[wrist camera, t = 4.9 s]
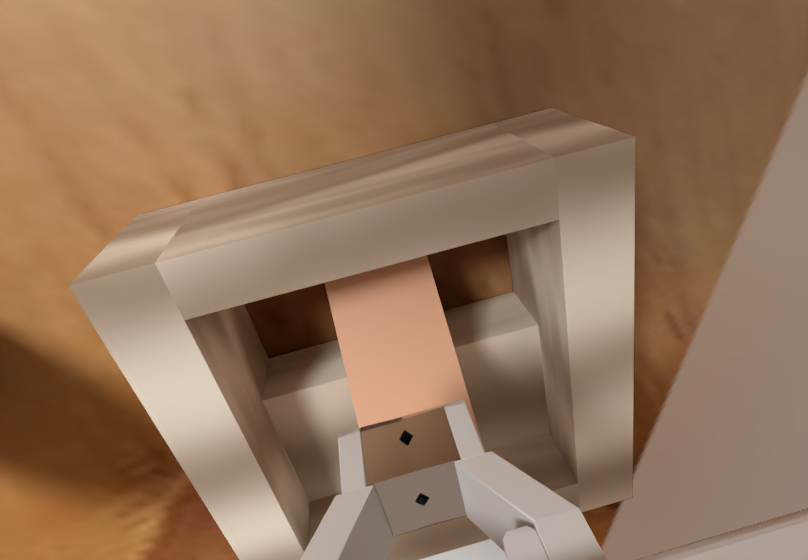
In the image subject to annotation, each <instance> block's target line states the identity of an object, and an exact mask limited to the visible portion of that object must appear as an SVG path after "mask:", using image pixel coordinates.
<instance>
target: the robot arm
mask: <svg viewBox="0 0 808 560" xmlns="http://www.w3.org/2000/svg"><path fill="white" fill-rule="evenodd" d="M338 446H339V461H340V475H341V490H342V494H339V495H336V496H335V497H334V499H333V501H332V503H331V505H330V506H329V508H328V510H327V512H326V514H325V515H324V517H323V519H322V521H321V523H320V524H319V526H318V528H317V530H316V532H315V534H314V535H313V537H312V539H311V541H310V543H309V544H308V546H307V548H306V550H305V552H304V553H303V555H302V557H301V559H300V560H387V558H388V555H389V552H390V549H391V546H392V543H393V540H394V538H393V536H396V535H399V534H402V533H405V532H409V531H412V530H415V529H418V528H421V527H424V526H427V525H430V524H434V523H438V522H442V521H446V520H450V519H453V518H457V517H461V516H465V515H467V517H468V518H469V519H470V520H471V521H472V522H473V523H474V524H475V525H476V526H477V527H478V528H479V529H481V530H482V531H483V532H484V533H485V534H486V535H487V536H488V537H489V538H490V539H491V540H492V541H493V542H494V543H495V544H497V545H498V546H499V547H500V548H501V549H502V550H503V551H504V552H505V555H506V560H607V559H606V557H605V556H604V554H603V552H602V550H601V548H600V546H599V544H598V542H597V541H596V539H595V537H594V535H593V533H592V531H591V529H590V527H589V526H588V524H587V522H586V520H585V518H584V516H583V514H582V513H581V511H580V509H579V508H578V507H576V506H575V505H573V504H572V503H570V502H568V501H567V500H565V499H564V498H562V497H561V496H559V495H558V494H556V493H555V492H553V491H552V490H550V489H549V488H547V487H546V486H544V485H543V484H541V483H540V482H538V481H537V480H535V479H534V478H532V477H531V476H529V475H528V474H526V473H525V472H523V471H521V470H520V469H518V468H517V467H515V466H514V465H512V464H511V463H509V462H508V461H506V460H505V459H503V458H502V457H500V456H499V455H497V454H496V453H494V452H493V451H490V452H485V450H484V447H483V445H482V442H481V440H480V437H479V435H478V432H477V430H476V427H475V425H474V422H473V420H472V417H471V415H470V412H469V410H468V407H467V405H466V402H465V401H464V400H463V399H460V400H457V401H453V402H450V403H446V404H443V406H442V405H439V406H436V407H432V408H429V409H426V410H422V411H419V412H415V413H412V414H409V415H405V416H402V417H399V418H396V419H392V420H388V421H384V422H380V423H376V424H372V425H368V426H364V427H361V428H358V429H354V430H350V431H346V432H342V433H339V437H338ZM429 523H430V524H429ZM637 560H808V508H807V509H803V510H801V511H797V512H794V513H790V514H787V515H783V516H780V517H777V518H773V519H770V520H767V521H764V522H760V523H757V524H754V525H750V526H747V527H743V528H740V529H737V530H734V531H730V532H727V533H724V534H720V535H717V536H713V537H710V538H707V539H703V540H700V541H697V542H693V543H691V544H687V545H684V546H680V547H677V548H673V549H670V550H667V551H664V552H660V553H657V554H654V555H650V556H647V557H643V558H640V559H637Z"/></svg>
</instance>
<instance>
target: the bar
mask: <svg viewBox="0 0 808 560" xmlns="http://www.w3.org/2000/svg"><path fill="white" fill-rule="evenodd" d="M325 287H326V291H327V295H328V299H329V304H330V308H331V312H332V316H333V321H334V325H335V329H336V333H337V337H338V342H339V346H340V350H341V354H342V359H343V363H344V367H345V371H346V375H347V380H348V384H349V388H350V392H351V397H352V401H353V405H354V409H355V414H356V418H357V422H358V426H359V428H361V427H364V426H368V425H372V424H376V423H380V422H384V421H388V420H392V419H396V418H399V417H402V416H405V415H409V414H412V413H415V412H419V411H422V410H426V409H429V408H432V407H436V406H439V405H442V406H443V404H446V403H450V402H453V401H457V400H460V399H463V400H464V401H465V402H466V405H467V407H468V410H469V412H470V415H471V417H472V420H473V422H474V425H475V427H476V430H477V432H478V435H479V437H480V440H481V436H480V433H479V430H478V426H477V423H476V420H475V416H474V413H473V409H472V406H471V403H470V399H469V396H468V393H467V389H466V386H465V382H464V379H463V376H462V372H461V369H460V366H459V362H458V359H457V355H456V352H455V349H454V345H453V342H452V338H451V335H450V332H449V328H448V325H447V322H446V318H445V315H444V311H443V308H442V305H441V301H440V298H439V295H438V291H437V288H436V284H435V281H434V278H433V274H432V271H431V268H430V264H429V261H428V257H427V255H426V256H422V257H418V258H415V259H411V260H407V261H403V262H400V263H396V264H392V265H389V266H385V267H381V268H377V269H374V270H370V271H366V272H362V273H359V274H355V275H351V276H348V277H344V278H340V279H336V280H333V281H329V282H325ZM481 442H482V440H481ZM482 445H483V443H482Z"/></svg>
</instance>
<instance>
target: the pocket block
mask: <svg viewBox="0 0 808 560" xmlns="http://www.w3.org/2000/svg"><path fill="white" fill-rule="evenodd" d="M504 234H506V237H507V245H508V253H509V260H510V268H511V276H512V284H513V292H510V293H507V294H503V295H499V296H496V297H492V298H488V299H485V300H481V301H477V302H474V303H470V304H466V305H463V306H459V307H455V308H452V309H448V310H444V315H445V318H446V322H447V325H448V328H449V332H450V335H451V338H452V342H453V345H454V349H455V352H456V355H457V359H458V362H459V366H460V369H461V372H462V376H463V379H464V382H465V386H466V389H467V393H468V396H469V399H470V403H471V406H472V409H473V413H474V416H475V420H476V423H477V426H478V430H479V433H480V436H481V440H482V443H483V447H484V450H485V452H490V451H493V452H494V453H496V454H497V455H499V456H500V457H502V458H503V459H505V460H506V461H508V462H509V463H511V464H512V465H514V466H515V467H517V468H518V469H520V470H521V471H523V472H525V473H526V474H528V475H529V476H531V477H532V478H534V479H535V480H537V481H538V482H540V483H541V484H543V485H544V486H546V487H547V488H549V489H550V490H552V491H553V492H555V493H556V494H558V495H559V496H561V497H562V498H564V499H565V500H567V501H568V502H570V503H572V504H573V505H575V506H576V507H578V508H579V509H580V511H581V512H584V511H588V510H591V509H595V508H598V507H602V506H605V505H609V504H612V503H615V502H619V501H622V500H626V499H629V498H632V497H633V391H634V257H635V136H632V135H629V134H626V133H623V132H621V131H618V130H615V129H612V128H609V127H606V126H603V125H600V124H597V123H594V122H591V121H588V120H585V119H582V118H580V117H577V116H574V115H571V114H568V113H565V112H562V111H559V110H556V109H553V108H549V109H545V110H541V111H537V112H533V113H530V114H526V115H522V116H518V117H514V118H510V119H506V120H503V121H499V122H495V123H491V124H487V125H483V126H479V127H476V128H472V129H468V130H464V131H460V132H456V133H452V134H449V135H445V136H441V137H437V138H433V139H429V140H425V141H422V142H418V143H414V144H410V145H406V146H402V147H398V148H395V149H391V150H387V151H383V152H379V153H375V154H371V155H368V156H364V157H360V158H356V159H352V160H348V161H345V162H341V163H337V164H333V165H329V166H325V167H321V168H318V169H314V170H310V171H306V172H302V173H298V174H294V175H291V176H287V177H283V178H279V179H275V180H271V181H267V182H264V183H260V184H256V185H252V186H248V187H244V188H240V189H237V190H233V191H229V192H225V193H221V194H217V195H213V196H210V197H206V198H202V199H198V200H194V201H190V202H186V203H183V204H179V205H175V206H171V207H167V208H163V209H159V210H156V211H152V212H148V213H144V214H140V215H136V216H135V217H134V218H133V219H132V220H131V221H130V222H129V223H128V224H127V225H126V226H125V228H124V229H123V230H122V231H121V232H120V233H119V234H118V235H117V236H116V237H115V238H114V239H113V240H112V241H111V242H110V243H109V244H108V245H107V246H106V247H105V248H104V249H103V250H102V251H101V252H100V253H99V254H98V256H97V257H96V258H95V259H94V260H93V261H92V262H91V263H90V264H89V265H88V266H87V267H86V268H85V269H84V270H83V271H82V272H81V273H80V274H79V275H78V276H77V277H76V278H75V279H74V280H73V281H72V282H71V283H70V285H69V288H70V290H71V291H72V293H73V294H74V296H75V298H76V299H77V301H78V302H79V304H80V306H81V307H82V309H83V310H84V312H85V314H86V315H87V317H88V318H89V320H90V322H91V323H92V325H93V326H94V328H95V330H96V331H97V333H98V334H99V336H100V338H101V339H102V341H103V342H104V344H105V346H106V347H107V349H108V350H109V352H110V354H111V355H112V357H113V358H114V360H115V362H116V363H117V365H118V366H119V368H120V370H121V371H122V373H123V374H124V376H125V378H126V379H127V381H128V382H129V384H130V385H131V387H132V389H133V390H134V392H135V393H136V395H137V397H138V398H139V400H140V401H141V403H142V405H143V406H144V408H145V409H146V411H147V413H148V414H149V416H150V417H151V419H152V421H153V422H154V424H155V425H156V427H157V429H158V430H159V432H160V433H161V435H162V437H163V438H164V440H165V441H166V443H167V445H168V446H169V448H170V449H171V451H172V453H173V454H174V456H175V457H176V459H177V461H178V462H179V464H180V465H181V467H182V469H183V470H184V472H185V473H186V475H187V477H188V478H189V480H190V481H191V483H192V485H193V486H194V488H195V489H196V491H197V493H198V494H199V496H200V497H201V499H202V501H203V502H204V504H205V505H206V507H207V508H208V510H209V512H210V513H211V515H212V516H213V518H214V520H215V521H216V523H217V524H218V526H219V528H220V529H221V531H222V532H223V534H224V536H225V537H226V539H227V540H228V542H229V544H230V545H231V547H232V548H233V550H234V552H235V553H236V555H237V556H238V558H239V560H300V559H301V557H302V555H303V553H304V552H305V550H306V548H307V546H308V544H309V543H310V541H311V539H312V537H313V535H314V534H315V532H316V530H317V528H318V526H319V524H320V523H321V521H322V519H323V517H324V515H325V514H326V512H327V510H328V508H329V506H330V505H331V503H332V501H333V499H334V497H335V496H336V495H339V494H342V490H341V475H340V461H339V446H338V437H339V433H342V432H346V431H350V430H354V429H358V428H359V426H358V422H357V418H356V414H355V409H354V405H353V401H352V397H351V392H350V388H349V384H348V380H347V375H346V371H345V367H344V363H343V359H342V354H341V350H340V346H339V342H338V340H334V341H331V342H327V343H323V344H320V345H316V346H312V347H309V348H305V349H301V350H298V351H294V352H290V353H287V354H283V355H279V356H276V357H272V358H268V356H267V354H266V352H265V349H264V347H263V345H262V343H261V340H260V338H259V336H258V333H257V331H256V329H255V327H254V324H253V322H252V320H251V317H250V315H249V313H248V311H247V308H246V306H245V304H247V303H251V302H254V301H258V300H262V299H266V298H269V297H273V296H277V295H280V294H284V293H288V292H292V291H295V290H299V289H303V288H307V287H310V286H314V285H318V284H321V283H325V282H329V281H333V280H336V279H340V278H344V277H348V276H351V275H355V274H359V273H362V272H366V271H370V270H374V269H377V268H381V267H385V266H389V265H392V264H396V263H400V262H403V261H407V260H411V259H415V258H418V257H422V256H426V255H430V254H433V253H437V252H441V251H444V250H448V249H452V248H456V247H459V246H463V245H467V244H471V243H474V242H478V241H482V240H486V239H489V238H493V237H497V236H500V235H504ZM429 524H430V523H429ZM393 538H394V540H393V543H392V546H391V549H390V552H389V555H388V558H387V560H420V559H423V558H427V557H430V556H434V555H437V554H440V553H444V552H447V551H451V550H454V549H458V548H461V547H464V546H468V545H471V544H475V543H478V542H482V541H485V540H488V539H490V538H489V537H488V536H487V535H486V534H485V533H484V532H483V531H482V530H481V529H479V528H478V527H477V526H476V525H475V524H474V523H473V522H472V521H471V520H470V519H469V518H468V517H467V515H465V516H461V517H457V518H453V519H450V520H446V521H442V522H438V523H434V524H430V525H427V526H424V527H421V528H418V529H415V530H412V531H409V532H405V533H402V534H399V535H396V536H393Z"/></svg>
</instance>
